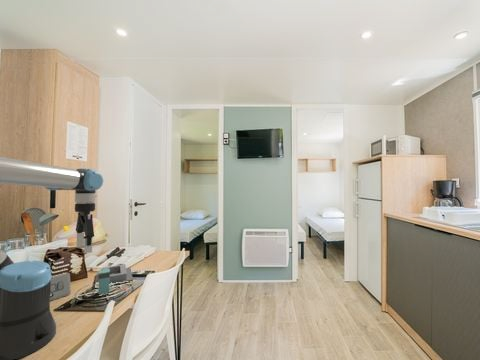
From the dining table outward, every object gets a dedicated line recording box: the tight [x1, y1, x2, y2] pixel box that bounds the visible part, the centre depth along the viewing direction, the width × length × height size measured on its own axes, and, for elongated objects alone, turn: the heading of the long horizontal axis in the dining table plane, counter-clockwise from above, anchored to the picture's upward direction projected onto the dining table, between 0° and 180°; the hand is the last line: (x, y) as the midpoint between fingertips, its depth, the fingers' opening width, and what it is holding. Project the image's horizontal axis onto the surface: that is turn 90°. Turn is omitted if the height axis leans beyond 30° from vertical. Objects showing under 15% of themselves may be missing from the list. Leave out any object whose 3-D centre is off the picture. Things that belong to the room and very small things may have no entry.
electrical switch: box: [50, 272, 72, 302], centre depth 93 cm, size 9×5×9 cm, turn 141°
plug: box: [97, 269, 110, 294], centre depth 95 cm, size 4×4×10 cm
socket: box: [94, 263, 134, 284], centre depth 111 cm, size 18×16×4 cm
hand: (83, 249), depth 97 cm, fingers open, 13 cm apart
